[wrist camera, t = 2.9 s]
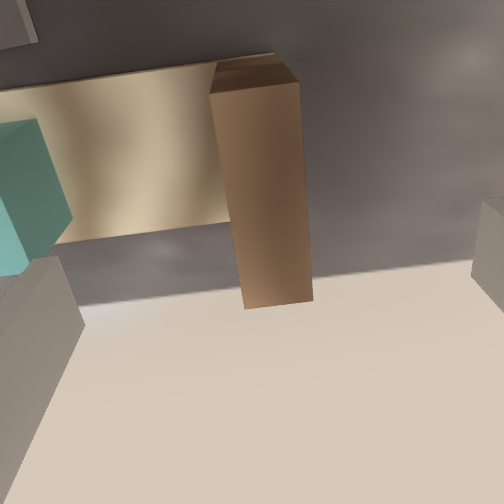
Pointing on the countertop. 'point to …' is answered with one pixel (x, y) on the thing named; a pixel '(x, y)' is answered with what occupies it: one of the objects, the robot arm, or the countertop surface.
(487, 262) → the robot arm
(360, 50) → the countertop surface
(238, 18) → the countertop surface
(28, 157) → the teal block
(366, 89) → the countertop surface
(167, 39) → the countertop surface
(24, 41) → the gray rectangular block
